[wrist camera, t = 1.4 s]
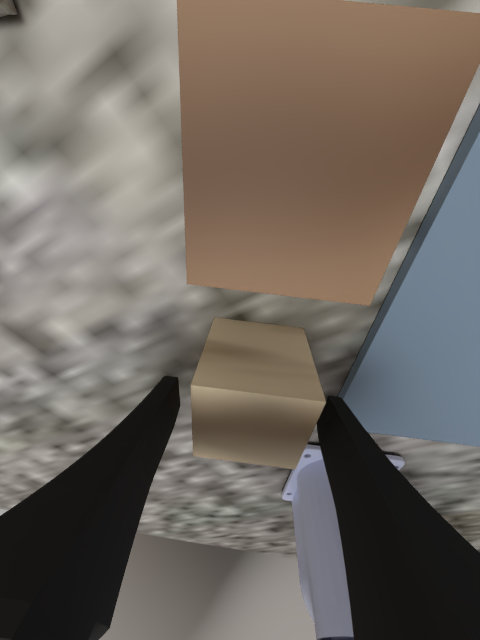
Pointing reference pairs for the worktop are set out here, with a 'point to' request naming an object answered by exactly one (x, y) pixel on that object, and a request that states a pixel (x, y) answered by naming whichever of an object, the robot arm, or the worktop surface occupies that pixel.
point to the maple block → (255, 394)
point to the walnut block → (311, 136)
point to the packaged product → (7, 8)
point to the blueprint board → (430, 323)
